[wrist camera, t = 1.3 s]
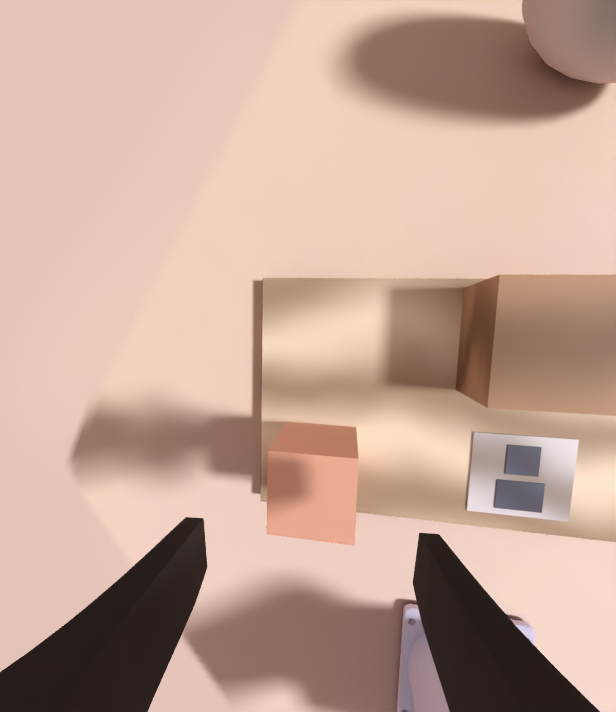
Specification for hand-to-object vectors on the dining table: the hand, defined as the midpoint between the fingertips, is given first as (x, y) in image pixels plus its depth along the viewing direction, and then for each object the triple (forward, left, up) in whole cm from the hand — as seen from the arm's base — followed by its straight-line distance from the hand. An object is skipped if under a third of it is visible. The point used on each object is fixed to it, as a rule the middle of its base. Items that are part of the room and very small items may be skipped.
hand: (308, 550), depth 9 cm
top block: (-1, 0, -9) cm, 9 cm away
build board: (+3, -7, -10) cm, 12 cm away
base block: (+7, -11, -9) cm, 16 cm away
